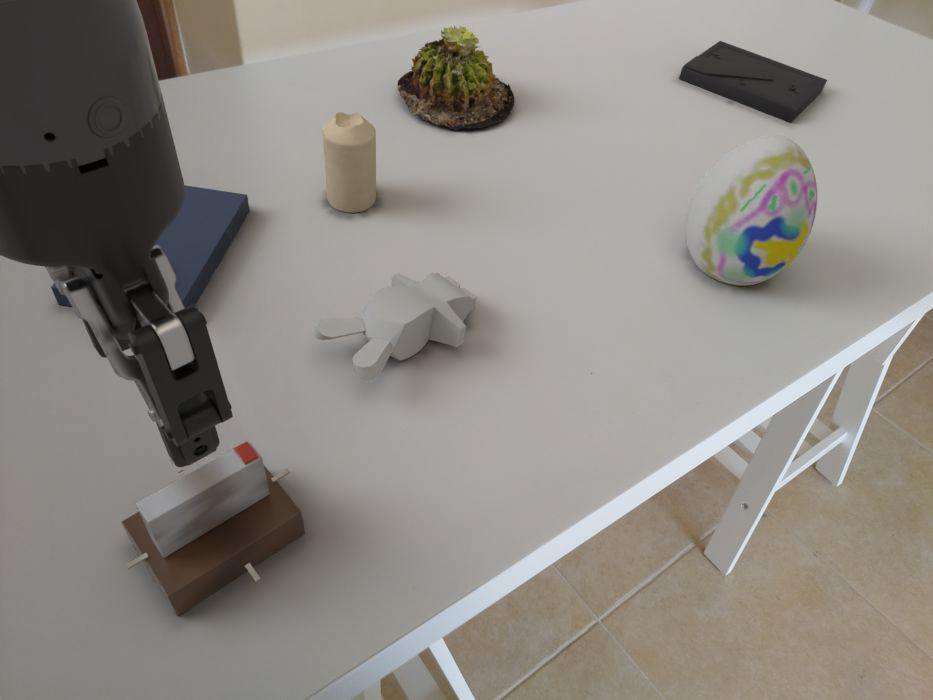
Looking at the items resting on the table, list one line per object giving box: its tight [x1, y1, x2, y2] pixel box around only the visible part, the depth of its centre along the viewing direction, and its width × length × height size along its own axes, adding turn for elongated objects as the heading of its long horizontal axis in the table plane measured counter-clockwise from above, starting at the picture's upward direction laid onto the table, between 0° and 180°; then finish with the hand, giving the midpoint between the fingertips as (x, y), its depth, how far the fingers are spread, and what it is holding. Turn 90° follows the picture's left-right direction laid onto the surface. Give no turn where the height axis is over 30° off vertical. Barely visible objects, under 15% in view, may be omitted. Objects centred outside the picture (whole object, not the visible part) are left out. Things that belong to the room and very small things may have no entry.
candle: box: [322, 112, 377, 214], centre depth 80 cm, size 6×6×10 cm
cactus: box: [397, 25, 516, 131], centre depth 98 cm, size 17×16×10 cm
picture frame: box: [678, 40, 828, 124], centre depth 111 cm, size 13×2×18 cm
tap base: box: [121, 458, 306, 617], centre depth 52 cm, size 12×12×3 cm
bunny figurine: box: [312, 272, 477, 381], centre depth 67 cm, size 10×5×15 cm
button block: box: [50, 184, 251, 308], centre depth 73 cm, size 19×12×4 cm, turn 172°
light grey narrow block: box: [135, 440, 270, 558], centre depth 50 cm, size 8×2×5 cm, turn 131°
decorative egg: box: [684, 134, 818, 287], centre depth 76 cm, size 12×12×15 cm
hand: (156, 398), depth 37 cm, fingers open, 8 cm apart
